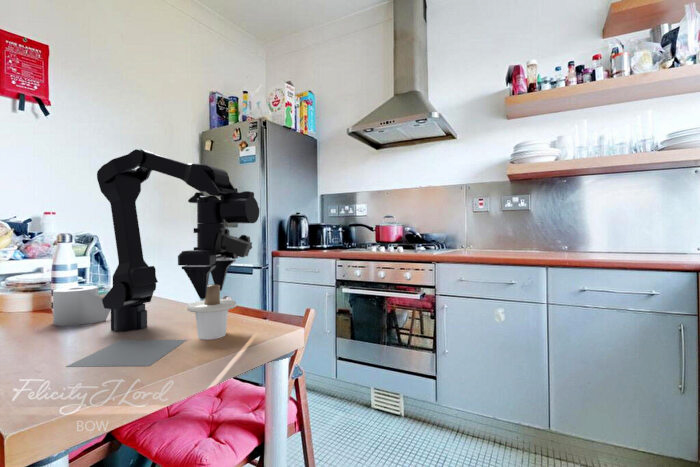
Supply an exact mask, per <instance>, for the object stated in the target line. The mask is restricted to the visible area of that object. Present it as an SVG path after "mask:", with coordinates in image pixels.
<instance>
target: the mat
mask: <svg viewBox="0 0 700 467" xmlns="http://www.w3.org/2000/svg"><path fill="white" fill-rule="evenodd" d="M186 341H187V339H120V340H118V341H115V342H114V343H111V344H109V345H107V346H106V347H103V348H102V349H99V350H97V351H95V352H93V353H91V354H89V355H87V356H85V357H83V358H81V359H79V360H76V361H75V362H72V363H69V365H67V366H65V367H66V368H80V367H81V368H85V367H86V368H89V367H91V368H92V367H94V368H96V367H97V368H98V367H99V368H100V367H101V368H102V367H103V368H106V367H107V368H108V367H111V368H112V367H116V368H117V367H150V366H152V365H153V364H155V363H156V362H158V361H160V360H161V359H162V358H163V357H165V356H166V355H168V354H169V353H171V352H172V351H173V350H175V349H176V348H178V347H179V346H180V345H182V344H184V343H186Z"/></svg>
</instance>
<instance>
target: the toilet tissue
mask: <svg viewBox="0 0 700 467" xmlns="http://www.w3.org/2000/svg"><path fill="white" fill-rule="evenodd" d="M103 298H104V297H102V296H99V286H97V285H82V286H81V285H79V286H68V287H61V288H57V289H53V290H52V306H53V307H52V308H53V310H52V311H53V312H52V313H53V314H52V318H53V319H52V324H53V325H54V326H58V327H59V326H61V327H66V326H67V327H68V326H75V325H85V324H95V323H100V322H105V321H106V320H107V318H108V316H109V314H110V313H111V309H105V308H104V306H103V302H102V299H103Z"/></svg>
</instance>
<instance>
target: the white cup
mask: <svg viewBox="0 0 700 467" xmlns="http://www.w3.org/2000/svg"><path fill="white" fill-rule="evenodd" d="M194 314H195V321H196V331H197V338H198V339H199V340H205V341H206V340H216V339H219V338H223V337H225V336H226V334H227V326H228V325H227V324H228V316H229V315H228V314H229V310H225V311H219V312H210V313H196V312H194Z"/></svg>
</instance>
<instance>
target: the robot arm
mask: <svg viewBox="0 0 700 467" xmlns="http://www.w3.org/2000/svg"><path fill="white" fill-rule="evenodd" d="M153 171H154V172H157V173H161V174H164V175H167V176H170V177H173V178H177V179H179V180H181V181H183V182H185V183H186V185H188V186H189V187H191V188H193V189H195V190H196V192H195V193H194V195H192V196H191V197H190V198H188V200H187V203H190V204H196V207H197V208H196V212H197V214H196V215H197V216H196V218H197V219H196V222H197V223H196V228H195V227H194V228H193V233H194V234H196V241H197V243H196V244H197V245H196V246H195V247H193V249H188V250H182V251H181V252H180V253H179V254H178V255H177V266H181V270H183V271H184V272H185V274H186V275H187V277H188V279H189V280H190V282H191V284H192V286H193V288H194V290H195V292H196V293H197V295H198V297H199V299H201V300H204V299H205V298H206V294H207V288H208V285H209V281H210V279H209V278H210V276H211V278H212V281H213V284H217V285H220V292H221V291H222V290H223V287H224V283H225V280H226V277H227V273H228V270H229V267H230V266H231V265H233V264H234V263H235V262H236V259H238V258H245V257H248V256H249V253H250V251H251V250H252V249H253V242H251V237H250V236H249V235H246V234H242V235H240V236H239V237H238V236H233V235H232V234H231V235H230V229H229V228H228V227H227V228H226V223H227V224H256V222H258V219H259V217H260V207H259V204H258V201H257V200H256V198H255V192H254V191H250V190H249V191H248V190H246V191H245V190H243V191H241V192H237V190H236V188H235V186H234V185H233V184H232V182H230V176H229V175H228V172H227V171H226V170H224V169H221V168H218V167H215V166H211V165H208V164H202V163H185V162H182V161H179V160H175V159H172V158H169V157H165V156H163V155H159V154H156V153H155V152H152V151H149V150H145V149H141V148H138V149H137V148H136V149H134V150H132V151H130V152H129V153H128V154H125V155H122V156H119V157H115V158H113V159H111V160H109V161H108V162H106V163H104V164H103V165H101V167H100V168H98V170H97V172H96V179H97V182H98V186H99V189H100V192H101V194H102V195H103V196H104V197H105V198H106V200H107V201H108V202H109V204H110V210H111V217H112V224H113V231H114V239H115V246H116V252H117V253H116V254H117V259H118V265H117V267H116V269H115V270H114V273H113V275H112V287H111V288H110V290H109V291H108V292H107V293H106V294H105V295H104V296H103V297H102V298H103V299H102V302H103V306H104V308H105V309H111V310H110V331H114V332H117V333H118V332H119V333H123V332H124V333H125V332H132V331H140V330H141V331H142V330H143V329H146V328H147V327H148V310H147V309H146V303H151V302H152V298H153V296H154V295H153V294H154V292H155V291H156V290H157V289H156V288H157V283H158V282H159V281H158V279H157V276H156V271H157V270H156V267H155V266H154V265H152V266H151V265H150V266H149V265H148V263H147V262H146V261H145V259H144V254H143V246H142V239H141V238H142V237H141V233H140V226H139V219H138V212H137V204H136V201H138V200H137V199H138V197H139V196H140V194H141V191H142V184H143V183H144V182H146V181H147V180H148V179H150V175H151V173H152V172H153ZM197 191H198V192H197ZM202 192H204V193H207V194H208V195H205V194H204V193H202ZM220 197H221V199H219V198H220ZM210 274H211V275H210Z"/></svg>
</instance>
